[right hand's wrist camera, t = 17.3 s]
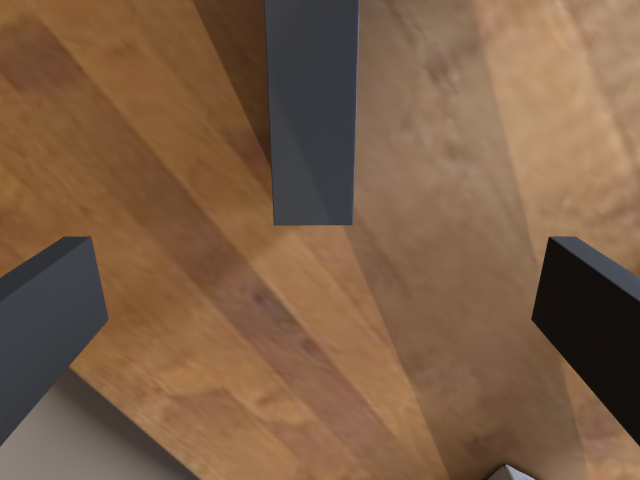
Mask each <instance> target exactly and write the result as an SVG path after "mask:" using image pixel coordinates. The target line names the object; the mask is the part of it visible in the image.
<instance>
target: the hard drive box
mask: <svg viewBox="0 0 640 480" xmlns="http://www.w3.org/2000/svg"><path fill="white" fill-rule="evenodd" d="M488 480H535V479H533V478H531V477H529V476H528V475H526V474H524V473H521V472H519V471H518V470H516V469H514V468H512V467H510V466H508V465H505V466H502V467H501V468H500V469H499V470H498V471H496V472H495V473H494V474H493V475H492V476H491V477H490V478H489V479H488Z"/></svg>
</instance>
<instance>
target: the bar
mask: <svg viewBox="0 0 640 480" xmlns="http://www.w3.org/2000/svg"><path fill="white" fill-rule="evenodd" d="M359 4H360V0H264V12H265V35H266V57H267V80H268V103H269V125H270V148H271V170H272V193H273V216H274V225H353V205H354V171H355V138H356V104H357V71H358V38H359Z"/></svg>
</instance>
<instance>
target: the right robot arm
mask: <svg viewBox="0 0 640 480" xmlns="http://www.w3.org/2000/svg"><path fill="white" fill-rule="evenodd" d="M108 320H109V318H108V314H107V309H106V304H105V300H104V295H103V290H102V286H101V281H100V276H99V271H98V267H97V262H96V257H95V253H94V248H93V243H92V239H91V237H63V238H62V239H60V240H58V241H57V242H55V243H54V244H52V245H51V246H49V247H48V248H46V249H44V250H43V251H41V252H40V253H38V254H37V255H35V256H34V257H32V258H31V259H29V260H27V261H26V262H24V263H23V264H21V265H20V266H18V267H17V268H15V269H13V270H12V271H10V272H9V273H7V274H6V275H4V276H3V277H1V278H0V446H1V445H2V444H3V443H4V442H5V440H6V439H7V438H8V437H9V436H10V435H11V433H12V432H13V431H14V430H15V429H16V427H17V426H18V425H19V424H20V423H21V422H22V420H23V419H24V418H25V417H26V416H27V415H28V413H29V412H30V411H31V410H32V409H33V408H34V406H35V405H36V404H37V403H38V402H39V401H40V399H41V398H42V397H43V396H44V395H45V394H46V392H47V391H48V390H49V389H50V388H51V386H52V385H53V384H54V383H55V382H56V381H57V379H58V378H59V377H60V376H61V375H62V374H63V372H64V371H65V370H66V369H67V368H68V367H69V365H70V364H71V363H72V362H73V361H74V360H75V358H76V357H77V356H78V355H79V354H80V353H81V351H82V350H83V349H84V348H85V347H86V345H87V344H88V343H89V342H90V341H91V340H92V338H93V337H94V336H95V335H96V334H97V333H98V331H99V330H100V329H101V328H102V327H103V326H104V324H105V323H106V322H107V321H108ZM531 320H532V321H533V322H534V323H535V324H536V326H537V327H538V328H539V329H540V330H541V331H542V333H543V334H544V335H545V336H546V337H547V338H548V340H549V341H550V342H551V343H552V344H553V345H554V347H555V348H556V349H557V350H558V351H559V353H560V354H561V355H562V356H563V357H564V358H565V360H566V361H567V362H568V363H569V364H570V365H571V367H572V368H573V369H574V370H575V371H576V372H577V374H578V375H579V376H580V377H581V378H582V379H583V381H584V382H585V383H586V384H587V385H588V386H589V388H590V389H591V390H592V391H593V392H594V394H595V395H596V396H597V397H598V398H599V399H600V401H601V402H602V403H603V404H604V405H605V406H606V408H607V409H608V410H609V411H610V412H611V413H612V415H613V416H614V417H615V418H616V419H617V420H618V422H619V423H620V424H621V425H622V426H623V428H624V429H625V430H626V431H627V432H628V433H629V435H630V436H631V437H632V438H633V439H634V440H635V442H636V443H637V444H638V445H639V446H640V278H639V277H637V276H636V275H634V274H633V273H631V272H630V271H628V270H627V269H625V268H623V267H622V266H620V265H619V264H617V263H616V262H614V261H613V260H611V259H609V258H608V257H606V256H605V255H603V254H602V253H600V252H599V251H597V250H596V249H594V248H592V247H591V246H589V245H588V244H586V243H585V242H583V241H582V240H580V239H578V238H577V237H549V239H548V243H547V248H546V253H545V257H544V262H543V267H542V271H541V276H540V281H539V286H538V290H537V295H536V300H535V304H534V309H533V314H532V318H531Z"/></svg>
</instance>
